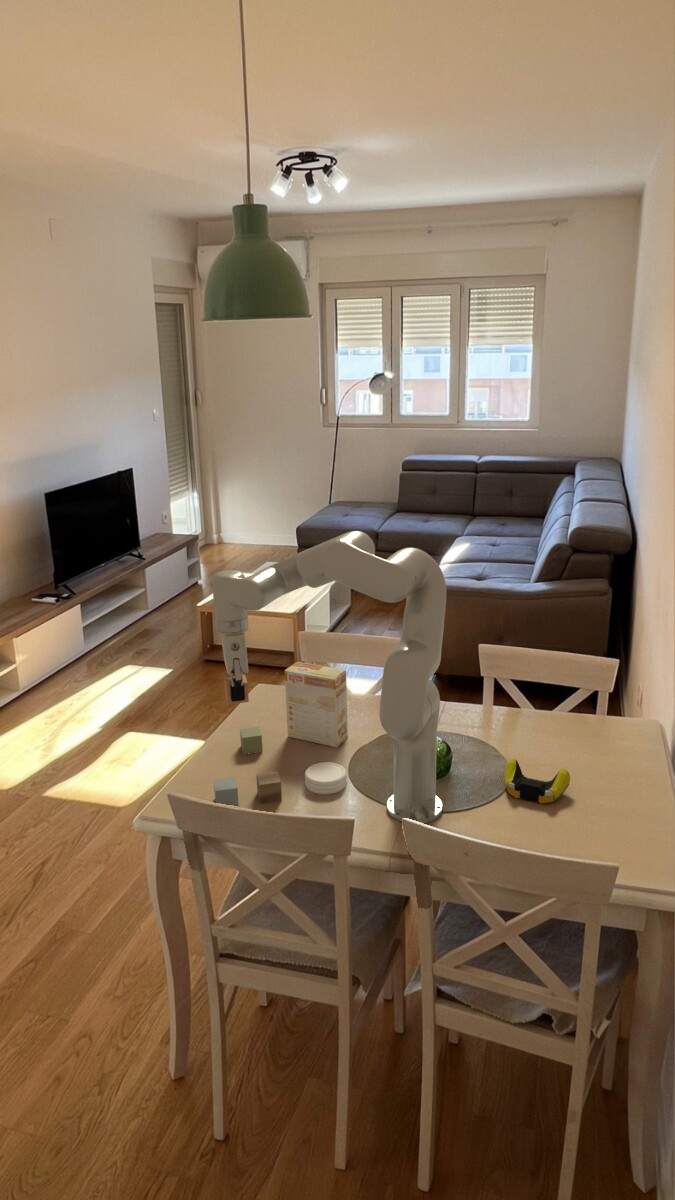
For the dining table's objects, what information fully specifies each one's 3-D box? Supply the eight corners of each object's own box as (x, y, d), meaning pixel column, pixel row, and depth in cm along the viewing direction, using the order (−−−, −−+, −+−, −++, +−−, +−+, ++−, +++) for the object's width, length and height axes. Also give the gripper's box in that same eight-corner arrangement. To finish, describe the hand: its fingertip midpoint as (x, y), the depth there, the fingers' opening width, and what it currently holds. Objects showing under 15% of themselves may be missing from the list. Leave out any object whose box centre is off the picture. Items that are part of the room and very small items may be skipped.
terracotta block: (248, 701, 196) (247, 682, 194) (227, 704, 195) (226, 685, 193) (246, 693, 200) (244, 674, 199) (225, 695, 199) (223, 676, 198)
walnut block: (281, 800, 192) (280, 781, 190) (260, 803, 191) (259, 784, 189) (278, 789, 197) (277, 771, 195) (257, 792, 196) (256, 774, 194)
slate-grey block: (238, 807, 190) (237, 788, 188) (216, 810, 189) (215, 791, 187) (236, 795, 195) (235, 777, 193) (215, 798, 194) (213, 780, 192)
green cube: (262, 752, 214) (261, 735, 213) (243, 755, 213) (242, 737, 211) (259, 743, 219) (258, 726, 217) (241, 746, 218) (239, 729, 216)
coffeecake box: (348, 736, 221) (347, 669, 215) (336, 748, 215) (334, 679, 209) (300, 726, 228) (297, 660, 222) (286, 737, 222) (283, 669, 216)
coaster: (354, 780, 200) (354, 767, 199) (332, 800, 192) (331, 786, 191) (320, 770, 205) (319, 757, 204) (297, 788, 197) (296, 775, 196)
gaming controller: (507, 775, 200) (496, 795, 192) (508, 755, 199) (497, 774, 190) (570, 788, 194) (561, 810, 186) (572, 767, 192) (563, 788, 184)
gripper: (252, 634, 184) (257, 708, 190) (243, 610, 200) (247, 679, 206) (219, 638, 183) (224, 712, 189) (212, 613, 199) (217, 683, 204)
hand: (236, 694), depth 197 cm, fingers closed on terracotta block, 4 cm apart
